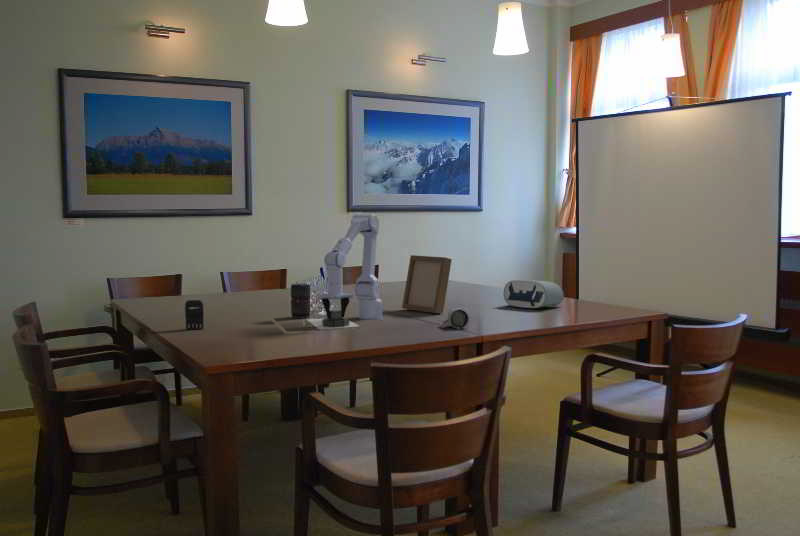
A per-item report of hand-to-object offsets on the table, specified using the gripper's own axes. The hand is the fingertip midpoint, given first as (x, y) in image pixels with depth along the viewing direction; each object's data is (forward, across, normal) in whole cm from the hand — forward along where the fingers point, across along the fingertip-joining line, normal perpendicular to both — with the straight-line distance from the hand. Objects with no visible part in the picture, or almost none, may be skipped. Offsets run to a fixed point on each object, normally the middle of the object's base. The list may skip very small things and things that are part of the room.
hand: (335, 317), depth 266 cm
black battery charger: (+4, -52, +15) cm, 54 cm away
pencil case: (+4, +102, +25) cm, 105 cm away
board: (+4, 0, +6) cm, 7 cm away
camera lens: (+4, -9, +24) cm, 26 cm away
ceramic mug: (+4, +43, -16) cm, 46 cm away
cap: (+2, 0, 0) cm, 2 cm away
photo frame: (+4, +51, +29) cm, 59 cm away
